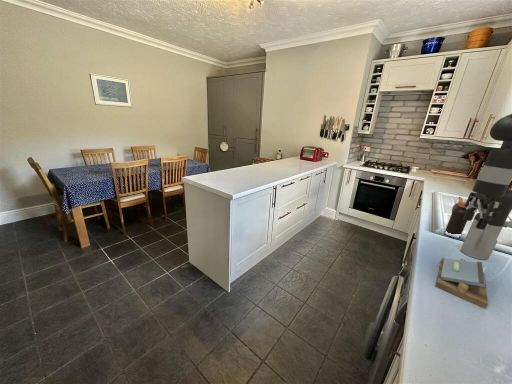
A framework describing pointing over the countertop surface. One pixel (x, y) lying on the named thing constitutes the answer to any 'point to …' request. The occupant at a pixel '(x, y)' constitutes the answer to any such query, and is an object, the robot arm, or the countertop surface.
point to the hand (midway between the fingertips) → (472, 224)
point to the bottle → (457, 219)
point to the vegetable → (457, 204)
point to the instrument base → (472, 290)
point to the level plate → (463, 272)
